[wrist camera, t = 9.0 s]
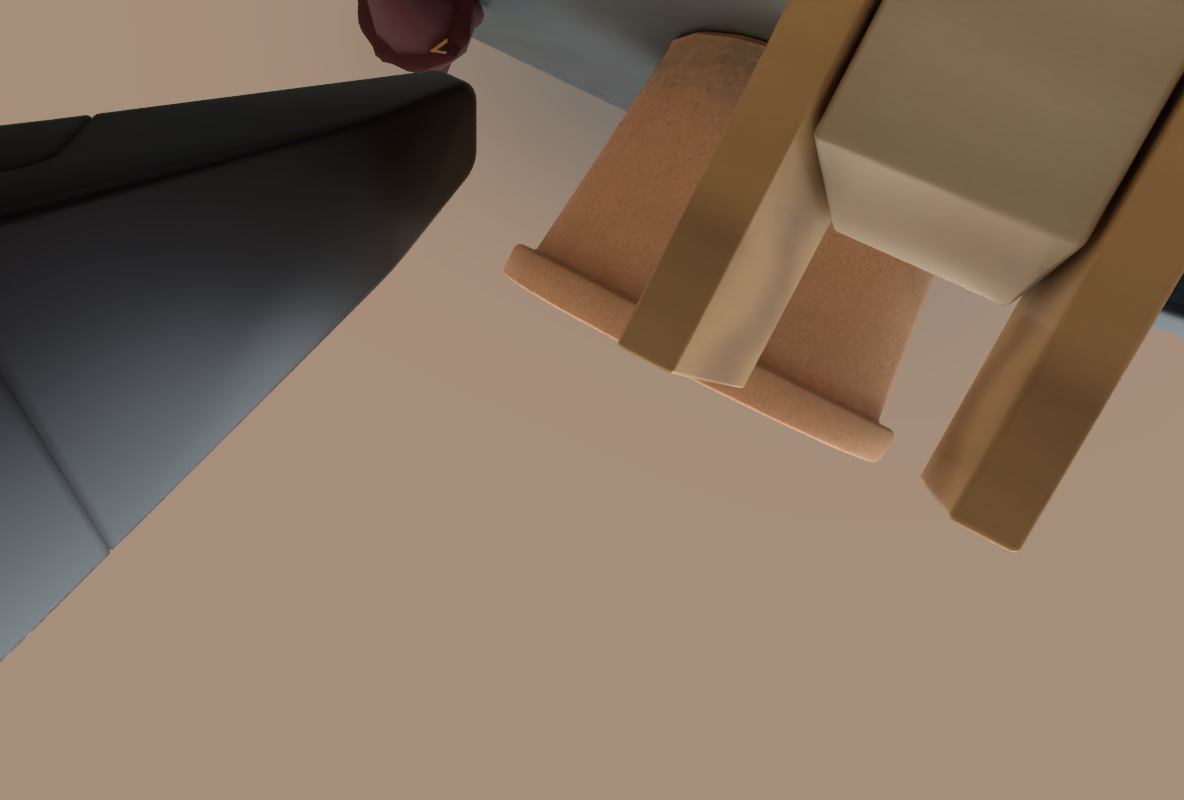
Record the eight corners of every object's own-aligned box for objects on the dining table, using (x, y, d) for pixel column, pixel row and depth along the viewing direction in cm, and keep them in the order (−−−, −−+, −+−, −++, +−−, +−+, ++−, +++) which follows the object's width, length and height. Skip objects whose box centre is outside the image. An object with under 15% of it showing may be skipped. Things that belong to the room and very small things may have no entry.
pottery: (1061, 117, 31) (865, 472, 33) (1004, 245, 52) (885, 459, 53) (564, -60, 38) (425, 240, 40) (688, 115, 59) (592, 307, 61)
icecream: (268, -22, 44) (384, 48, 59) (377, 74, 44) (466, 120, 59) (348, -141, 43) (447, -39, 57) (461, -42, 43) (531, 35, 57)
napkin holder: (1185, -792, 9) (614, 345, 11) (1782, -744, 8) (1019, 557, 9) (1063, -322, 15) (704, 369, 16) (1390, -246, 13) (962, 502, 15)
